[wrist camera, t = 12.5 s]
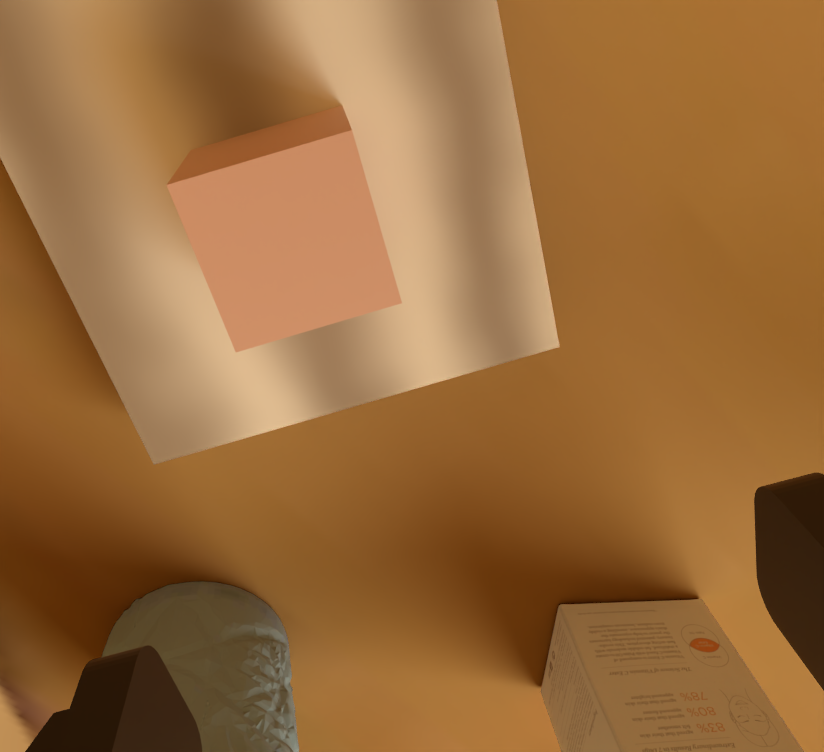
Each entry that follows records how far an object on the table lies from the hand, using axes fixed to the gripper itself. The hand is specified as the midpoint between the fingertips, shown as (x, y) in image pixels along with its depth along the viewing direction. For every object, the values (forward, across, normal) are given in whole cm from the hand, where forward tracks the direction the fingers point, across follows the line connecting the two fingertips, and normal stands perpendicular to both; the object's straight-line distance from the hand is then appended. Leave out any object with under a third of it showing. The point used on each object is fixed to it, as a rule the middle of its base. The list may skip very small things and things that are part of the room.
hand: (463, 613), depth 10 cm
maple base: (+21, +2, -2) cm, 21 cm away
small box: (+22, -7, +26) cm, 35 cm away
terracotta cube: (+18, +2, -2) cm, 18 cm away
